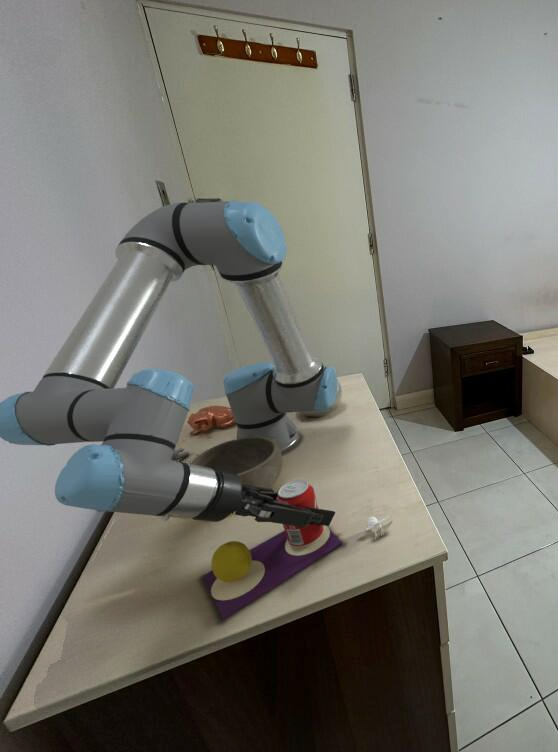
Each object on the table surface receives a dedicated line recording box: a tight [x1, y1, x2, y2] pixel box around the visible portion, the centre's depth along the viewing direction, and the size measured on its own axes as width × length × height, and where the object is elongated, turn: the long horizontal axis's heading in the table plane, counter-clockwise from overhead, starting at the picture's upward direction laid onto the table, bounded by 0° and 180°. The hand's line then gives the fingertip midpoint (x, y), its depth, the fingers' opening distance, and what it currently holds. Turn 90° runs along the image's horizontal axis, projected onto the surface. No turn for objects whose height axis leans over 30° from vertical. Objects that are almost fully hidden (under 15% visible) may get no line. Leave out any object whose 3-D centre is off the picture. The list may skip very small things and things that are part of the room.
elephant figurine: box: [171, 446, 191, 462], centre depth 103 cm, size 10×6×9 cm
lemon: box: [211, 540, 252, 582], centre depth 68 cm, size 6×6×8 cm
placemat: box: [202, 526, 343, 621], centre depth 74 cm, size 12×20×1 cm, turn 139°
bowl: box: [190, 437, 284, 489], centre depth 91 cm, size 17×18×10 cm
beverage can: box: [276, 479, 323, 547], centre depth 76 cm, size 6×6×12 cm
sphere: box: [298, 379, 343, 418], centre depth 126 cm, size 15×14×15 cm
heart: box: [186, 405, 236, 436], centre depth 120 cm, size 6×12×15 cm
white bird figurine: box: [353, 515, 391, 540], centre depth 79 cm, size 8×5×5 cm, turn 132°
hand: (319, 512), depth 79 cm, fingers closed on beverage can, 6 cm apart
